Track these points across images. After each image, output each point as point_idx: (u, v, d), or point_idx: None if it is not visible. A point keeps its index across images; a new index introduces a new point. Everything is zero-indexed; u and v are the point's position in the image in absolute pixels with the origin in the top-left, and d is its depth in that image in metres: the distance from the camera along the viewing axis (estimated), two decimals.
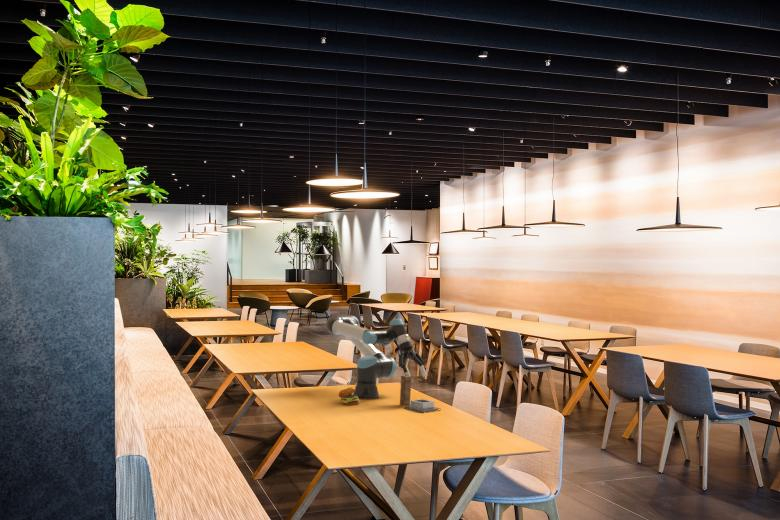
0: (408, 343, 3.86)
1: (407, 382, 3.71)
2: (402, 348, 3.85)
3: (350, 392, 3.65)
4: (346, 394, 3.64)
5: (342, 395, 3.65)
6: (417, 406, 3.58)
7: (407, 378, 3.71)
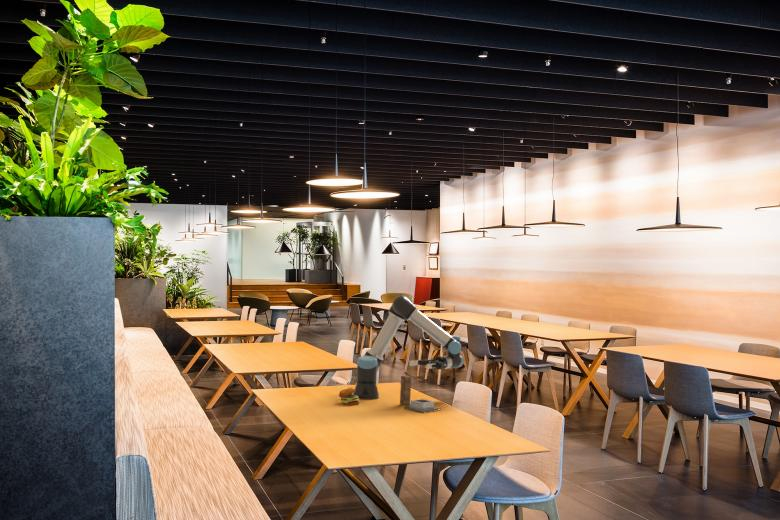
0: None
1: (407, 382, 3.71)
2: None
3: (350, 392, 3.65)
4: (346, 394, 3.64)
5: (342, 395, 3.65)
6: (417, 406, 3.58)
7: (407, 378, 3.71)
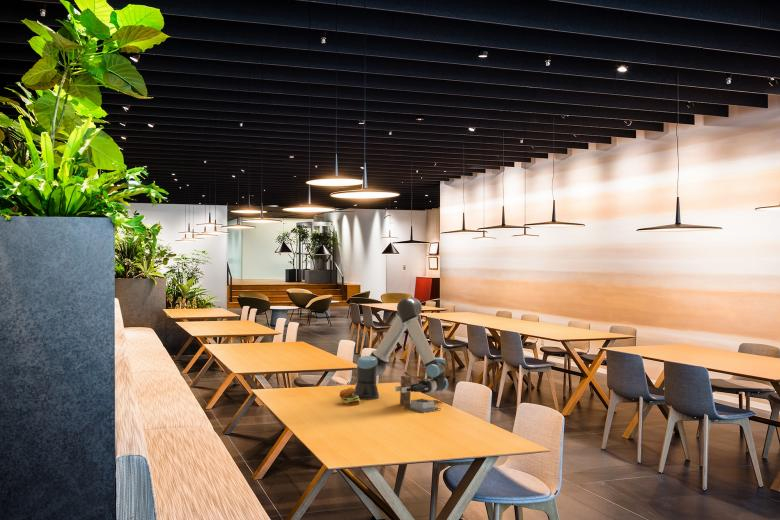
0: (425, 392, 3.83)
1: (407, 382, 3.71)
2: (428, 388, 3.80)
3: (351, 392, 3.65)
4: (347, 394, 3.64)
5: (343, 395, 3.65)
6: (417, 406, 3.58)
7: (407, 378, 3.71)
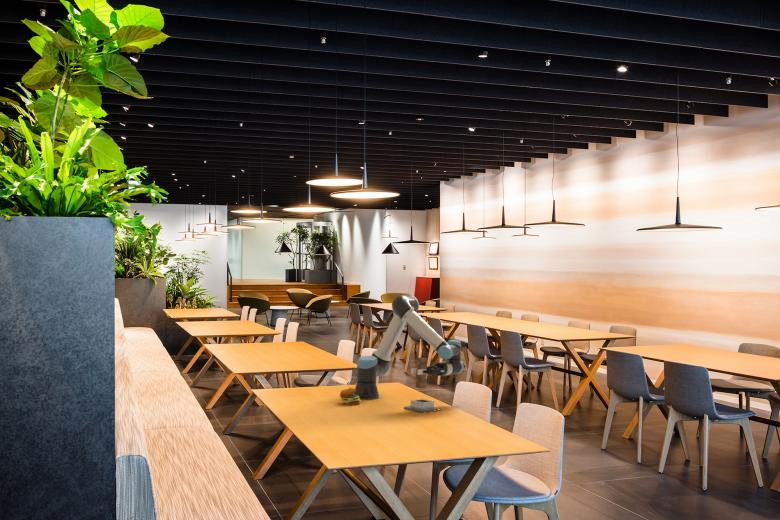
0: (441, 375, 3.75)
1: (423, 364, 3.63)
2: (443, 370, 3.72)
3: (351, 392, 3.65)
4: (347, 394, 3.64)
5: (343, 395, 3.65)
6: (417, 406, 3.58)
7: (423, 360, 3.63)
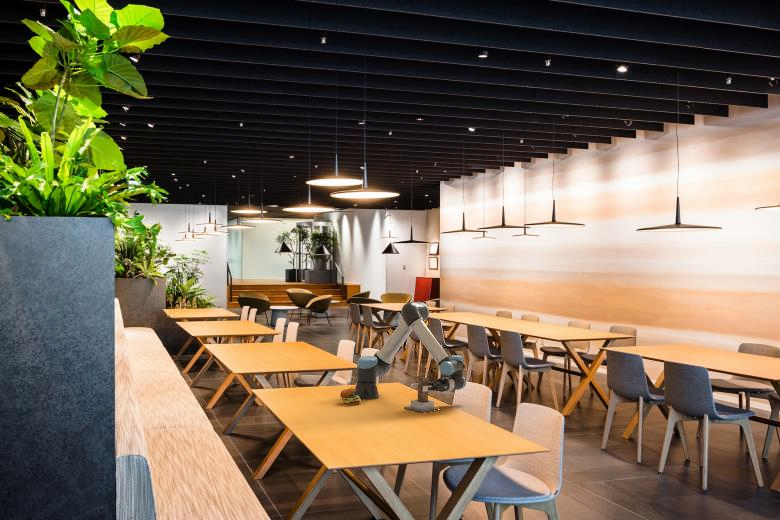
0: None
1: (425, 384, 3.60)
2: None
3: (351, 392, 3.65)
4: (347, 394, 3.64)
5: (343, 395, 3.65)
6: (417, 406, 3.58)
7: (425, 380, 3.60)
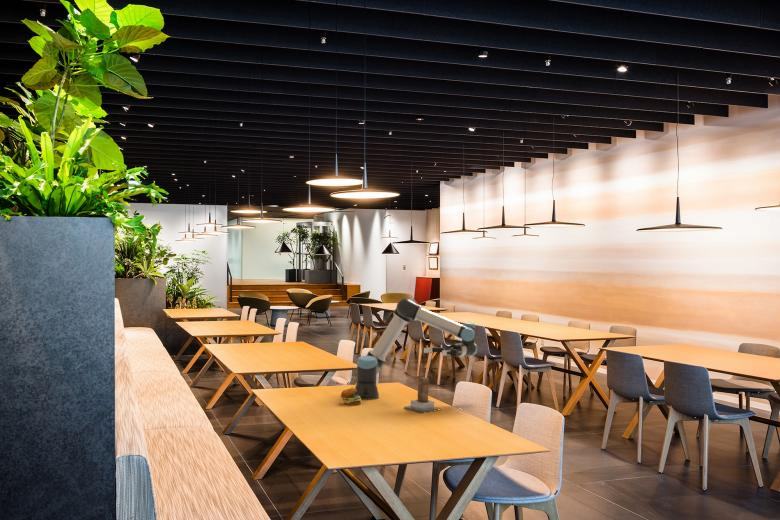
0: (456, 356, 3.88)
1: (425, 384, 3.60)
2: None
3: (352, 392, 3.65)
4: (348, 394, 3.64)
5: (344, 395, 3.65)
6: (417, 406, 3.58)
7: (425, 380, 3.60)
